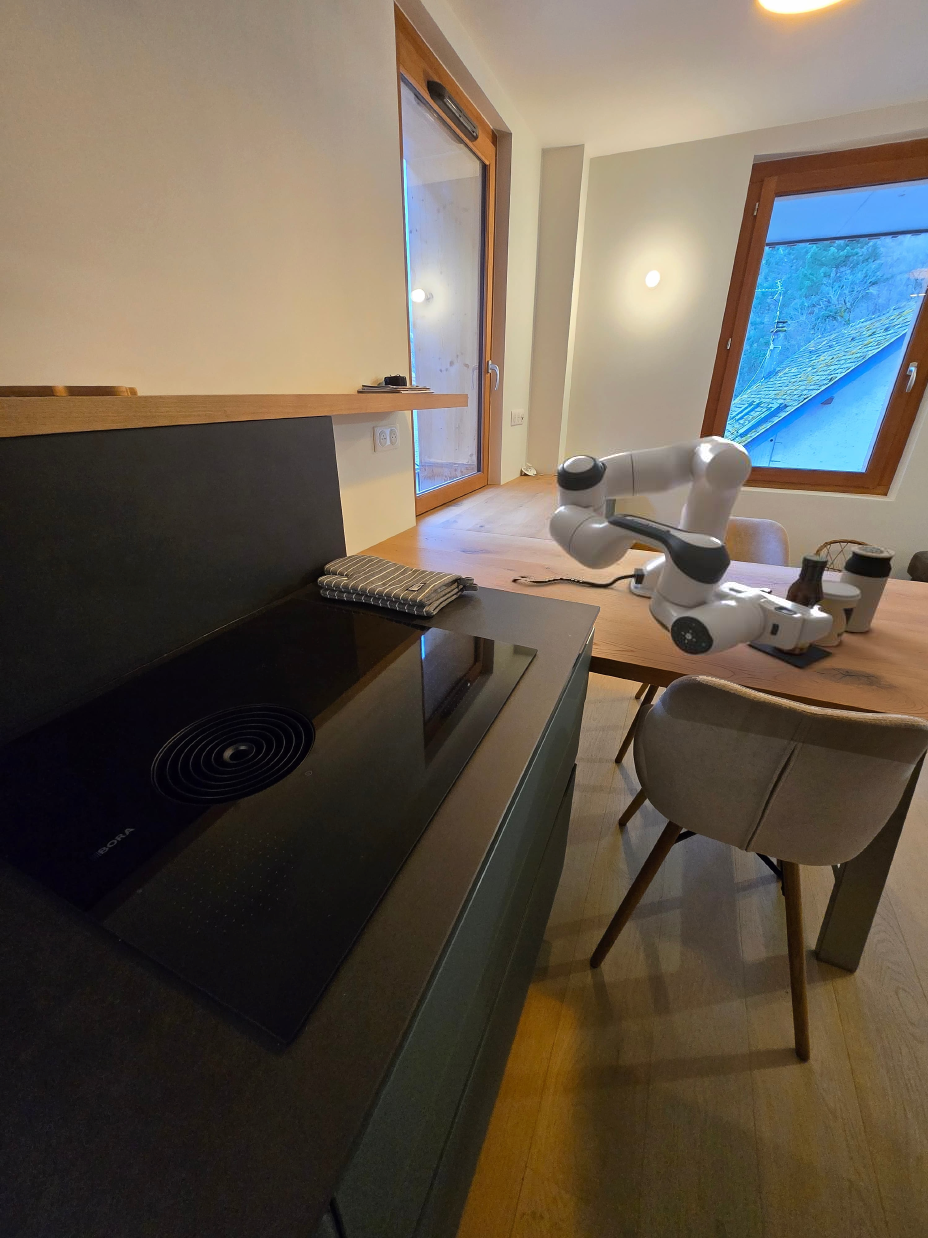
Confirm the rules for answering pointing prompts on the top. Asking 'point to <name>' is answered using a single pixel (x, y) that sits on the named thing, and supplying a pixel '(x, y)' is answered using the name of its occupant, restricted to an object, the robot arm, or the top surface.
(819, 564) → the sauce bottle
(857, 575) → the travel mug
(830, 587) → the coffee cup
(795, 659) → the coaster
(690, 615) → the robot arm
